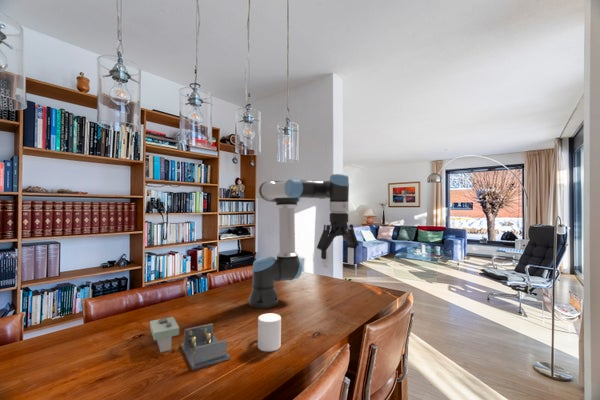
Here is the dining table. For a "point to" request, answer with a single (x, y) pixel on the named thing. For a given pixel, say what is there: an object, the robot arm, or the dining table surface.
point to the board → (164, 328)
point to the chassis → (203, 347)
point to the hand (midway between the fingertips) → (338, 265)
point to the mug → (269, 332)
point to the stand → (165, 344)
